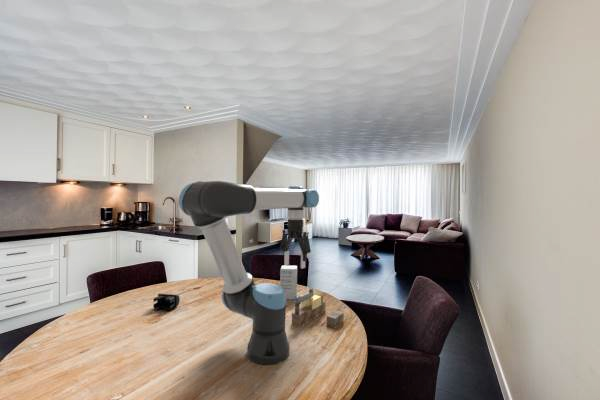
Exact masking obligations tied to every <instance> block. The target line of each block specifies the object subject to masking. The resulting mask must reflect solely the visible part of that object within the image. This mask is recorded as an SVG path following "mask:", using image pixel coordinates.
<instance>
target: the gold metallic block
mask: <svg viewBox="0 0 600 400" xmlns="http://www.w3.org/2000/svg"><path fill="white" fill-rule="evenodd" d="M320 305H321V296H318V294H314V296H313V297H311V298H309V299H307V300H305V301H303V302H301V306H300V308H307V309H310V310H313V309H315V308H317V307H318V306H320Z"/></svg>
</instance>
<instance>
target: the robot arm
mask: <svg viewBox="0 0 600 400" xmlns="http://www.w3.org/2000/svg"><path fill="white" fill-rule="evenodd" d="M319 201H320V195H319V192H318V191H317V190H316V189H311V188H307V189H304V187H303V186H295V185H292V186H291V185H290V186H289V187H288V188H272V187H271V188H269V187H267V188H265V187H253V186H252V185H250V184H243V183H241V184H240V183H233V182H229V181H222V180H212V181H211V180H210V181H196V182H191V183H188V184H187V185H185V186H184V187H183V189H181V192H180V194H179V197H178V205H179V208H180V210H181V212H183V213H184V214H185V215H187V216H189V217H190V218H191V220H192V223H193V225H194V227H195V228H197V229H200V230H201V232H202V234H203V236H204V239H205V241H206V243H207V246H208V248H209V250H210V253H211V254H212V256H213V259H214V262H215V264H216V266H217V268H218V270H219V273H220V275H221V278H222V280H223V285H222V294H221V301H222V304H223V305H224V307H225V308H227V310H229V311H231V312H233V313H236V314H238V315H240V316H244V317H247V318H249V319H252V332H251V335H250V338H249V341H248V344H247V347H246V352H247V353H246V356H247V358H248V359H249V361H251V362H253V363H256V364H258V363H259V365H274V364H273V363H275V364H278V362H279V363H280V361H281V362H283V361H285V360H286V359H287V358H288V357H289V356H290V350H291V349H290V342H289V341H288V337H287V333H286V313H287V312H286V307H287V299H286V296H285V291H284V289H283V288H282V287H280V284H279V285H278V284H275V283H268V282H260V283H257V284H256V283H255V280H254V278H253V275H252V274H251V273H250V272H247V271H246V269H245V266H244V265H243V262H242V261H243V260H242V258H241V256H240V253H239V251H238V249H237V248H238V247H236V244H235V240H234V238H233V236H232V233H231V230H230V229H229V228H230V227H229V226H228V223H227V220H226V218H227V217H234V216H240V215H246V214H248V215H249V214H251V213H253V212H254V211H262V210H265V211H266V210H281V209H283V210H284V209H287V218H288V219H287V224H286V225H287V229H282V238H281V241H280V246H279V250H282V251H283V253H282V254H283V255H282V257H283V258H284V261H283V263H284V265H287V266H290V250H289V248H290V246H291V244H292V241H293V240H294V239H295V240H296V241H297V243H298V246H299V248H300V250H301V254H300V269H302V270H303V269H306V262H307V260H308V254H311V253H312V250H311V244H310V239H309V231H304V212H305V211H304V208H308V209H310V208H316V207H317V206H318V204H319ZM288 355H289V356H288ZM284 359H285V360H284Z"/></svg>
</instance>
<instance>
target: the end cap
mask: <svg viewBox="0 0 600 400" xmlns="http://www.w3.org/2000/svg"><path fill="white" fill-rule="evenodd" d="M180 301H181V300H180V295H178V294H170V293H169V294H167V293H158V294H157V296H156V297H154V298H153V305H152V306H153V311H154V312H168V313H170V312H173V311H174V310H176V309H177V307H178V306H179V304H180Z"/></svg>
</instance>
